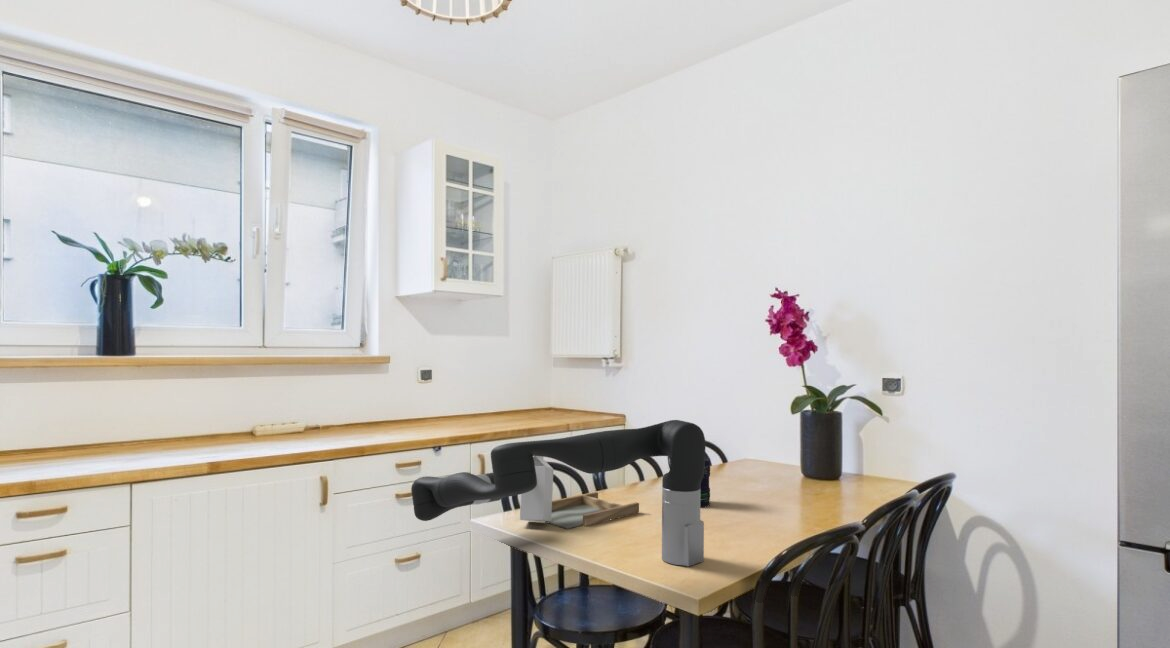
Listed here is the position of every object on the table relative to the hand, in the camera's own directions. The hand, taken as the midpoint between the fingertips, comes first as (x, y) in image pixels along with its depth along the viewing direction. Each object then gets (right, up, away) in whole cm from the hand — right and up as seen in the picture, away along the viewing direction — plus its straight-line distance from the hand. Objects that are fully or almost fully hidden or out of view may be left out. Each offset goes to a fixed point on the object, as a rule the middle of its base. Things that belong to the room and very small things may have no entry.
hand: (534, 479), depth 176 cm
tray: (+14, -14, +13) cm, 24 cm away
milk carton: (0, -12, 0) cm, 12 cm away
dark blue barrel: (+51, -15, +28) cm, 60 cm away
